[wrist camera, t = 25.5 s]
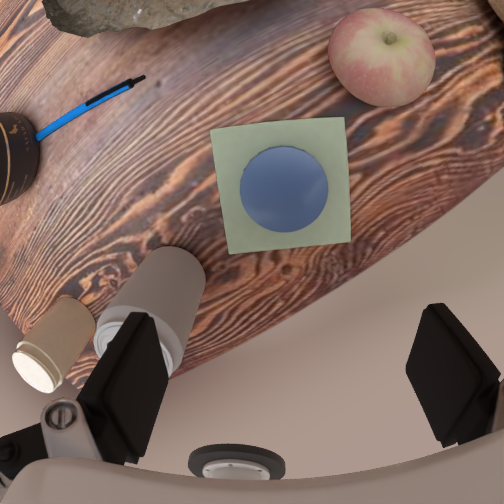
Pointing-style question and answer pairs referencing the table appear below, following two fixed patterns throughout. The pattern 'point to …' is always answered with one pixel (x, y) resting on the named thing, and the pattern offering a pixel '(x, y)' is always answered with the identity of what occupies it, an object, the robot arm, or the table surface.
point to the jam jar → (54, 344)
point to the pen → (88, 106)
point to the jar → (16, 156)
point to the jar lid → (283, 189)
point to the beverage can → (158, 301)
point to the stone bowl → (123, 13)
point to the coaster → (286, 134)
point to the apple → (381, 57)
